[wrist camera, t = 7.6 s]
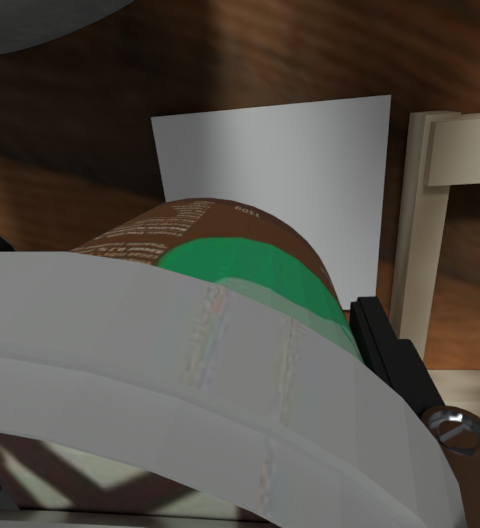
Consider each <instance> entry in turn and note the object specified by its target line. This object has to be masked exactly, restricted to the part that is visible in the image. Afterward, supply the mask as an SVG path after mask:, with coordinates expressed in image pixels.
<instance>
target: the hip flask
mask: <svg viewBox="0 0 480 528" xmlns="http://www.w3.org/2000/svg"><path fill="white" fill-rule="evenodd" d="M133 1H135V0H0V55H1V54H6V53H11V52H15V51H19V50H22V49H26V48H30V47H33V46H36V45H39V44H43V43H46V42H49V41H51V40H54V39H57V38H59V37H62V36H65V35H67V34H69V33H72V32H74V31H76V30H79V29H81V28H83V27H85V26H88V25H90V24H92V23H94V22H96V21H98V20H101V19H102V18H104V17H106V16H108V15H110V14H112V13H114V12H116V11H118V10H120V9H121V8H123V7H125V6H126V5H128V4H130V3H132V2H133Z"/></svg>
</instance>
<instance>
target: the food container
mask: <svg viewBox="0 0 480 528" xmlns="http://www.w3.org/2000/svg"><path fill="white" fill-rule="evenodd" d="M0 484H1V486H2V487H3V488H4V490H5V491H6V492H7V494H8V495H9V496H10V497H11V499H12V500H13V501H14V503H15V504H16V505H17V506H18V508H19V509H20V510H36V511H61V512H80V513H98V514H117V515H135V516H154V517H170V518H187V519H204V520H221V521H237V522H254V523H270V524H276V525H278V526H280V527H282V528H467V523H466V518H465V513H464V508H463V503H462V498H461V493H460V488H459V484H458V482H457V480H456V478H455V476H454V473H453V471H452V469H451V467H450V465H449V463H448V461H447V459H446V457H445V455H444V453H443V451H442V449H441V447H440V445H439V443H438V442H437V440H436V439H435V438H434V437H433V435H432V434H431V433H430V432H429V430H428V429H427V428H426V427H425V425H424V424H423V423H422V422H421V420H420V419H419V418H418V417H417V415H416V414H415V413H414V412H413V410H412V409H411V408H410V407H409V405H408V404H407V403H406V402H405V400H404V399H403V398H402V397H401V396H400V395H398V394H397V393H396V392H395V391H394V390H393V389H392V388H390V387H389V386H388V385H387V384H386V383H385V382H383V381H382V380H381V379H380V378H379V377H378V376H377V375H375V374H374V373H373V372H372V371H371V370H370V369H368V368H367V367H366V366H365V364H364V362H363V359H362V357H361V354H360V352H359V349H358V347H357V344H356V342H355V339H354V337H353V334H352V332H351V329H350V327H349V324H348V322H347V319H346V316H345V314H344V311H343V309H342V306H341V304H340V301H339V299H338V296H337V294H336V291H335V289H334V286H333V284H332V281H331V279H330V276H329V274H328V272H327V270H326V268H325V266H324V264H323V262H322V260H321V259H320V257H319V255H318V254H317V253H316V252H315V250H314V249H313V248H312V247H311V245H310V244H309V243H308V241H307V240H305V239H304V238H303V237H302V236H301V235H300V234H299V233H298V232H297V231H296V230H294V229H293V228H292V227H291V226H289V225H288V224H286V223H285V222H283V221H282V220H280V219H278V218H277V217H275V216H274V215H272V214H270V213H267V212H265V211H263V210H261V209H258V208H256V207H254V206H251V205H247V204H243V203H240V202H236V201H233V200H226V199H217V198H186V199H181V200H176V201H170V202H165V203H163V204H161V205H159V206H157V207H155V208H153V209H151V210H149V211H147V212H145V213H143V214H141V215H139V216H138V217H136V218H134V219H132V220H130V221H128V222H126V223H124V224H122V225H120V226H118V227H116V228H114V229H112V230H110V231H108V232H106V233H104V234H102V235H100V236H98V237H96V238H94V239H92V240H90V241H89V242H87V243H85V244H83V245H81V246H79V247H77V248H75V249H73V250H71V251H69V252H0Z"/></svg>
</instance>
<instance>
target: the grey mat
mask: <svg viewBox="0 0 480 528" xmlns="http://www.w3.org/2000/svg"><path fill="white" fill-rule="evenodd" d="M390 103H391V95H381V96H371V97H360V98H350V99H339V100H328V101H318V102H307V103H297V104H286V105H275V106H265V107H254V108H243V109H233V110H222V111H212V112H201V113H190V114H180V115H169V116H159V117H151V121H152V127H153V133H154V138H155V144H156V149H157V155H158V161H159V166H160V172H161V177H162V183H163V189H164V194H165V200H166V202H170V201H176V200H181V199H186V198H217V199H226V200H233V201H236V202H240V203H243V204H247V205H251V206H254V207H256V208H258V209H261V210H263V211H265V212H267V213H270V214H272V215H274V216H275V217H277V218H278V219H280V220H282V221H283V222H285V223H286V224H288V225H289V226H291V227H292V228H293V229H294V230H296V231H297V232H298V233H299V234H300V235H301V236H302V237H303V238H304V239H305V240H307V241H308V243H309V244H310V245H311V247H312V248H313V249H314V250H315V252H316V253H317V254H318V255H319V257H320V259H321V260H322V262H323V264H324V266H325V268H326V270H327V272H328V274H329V276H330V279H331V281H332V284H333V286H334V289H335V291H336V294H337V296H338V299H339V301H340V304H341V306H342V309H343V310H350V303H351V302H354V301H357V298H358V297H369V296H375V293H376V280H377V268H378V255H379V242H380V230H381V217H382V204H383V192H384V179H385V166H386V153H387V141H388V128H389V115H390Z"/></svg>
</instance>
